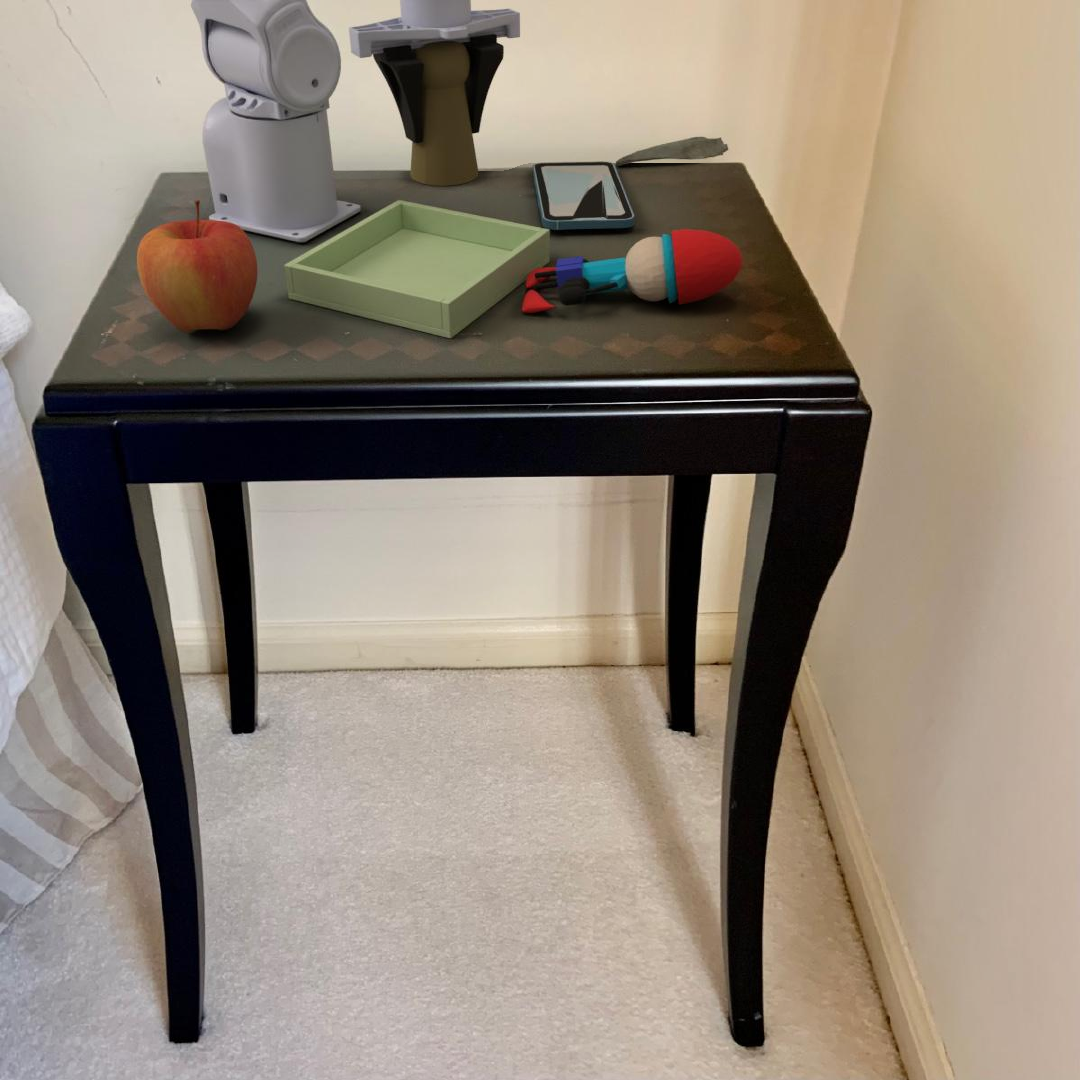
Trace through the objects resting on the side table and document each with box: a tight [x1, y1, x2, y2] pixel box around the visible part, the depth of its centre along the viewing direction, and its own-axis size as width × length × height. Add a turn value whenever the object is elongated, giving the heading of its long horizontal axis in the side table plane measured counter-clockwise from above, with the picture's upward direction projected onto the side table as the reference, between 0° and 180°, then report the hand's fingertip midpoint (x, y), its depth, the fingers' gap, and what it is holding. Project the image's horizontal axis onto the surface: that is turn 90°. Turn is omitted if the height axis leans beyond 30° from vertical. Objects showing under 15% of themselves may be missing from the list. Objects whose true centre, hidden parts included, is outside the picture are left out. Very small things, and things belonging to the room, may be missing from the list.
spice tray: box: [283, 199, 551, 339], centre depth 78 cm, size 13×14×2 cm
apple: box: [136, 199, 258, 334], centre depth 70 cm, size 7×7×8 cm
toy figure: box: [521, 228, 743, 314], centre depth 75 cm, size 8×5×15 cm
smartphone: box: [532, 160, 636, 232], centre depth 91 cm, size 7×1×15 cm
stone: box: [615, 136, 729, 167], centre depth 100 cm, size 11×2×5 cm
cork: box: [409, 41, 480, 187], centre depth 93 cm, size 6×6×11 cm
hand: (442, 135), depth 95 cm, fingers closed on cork, 5 cm apart
